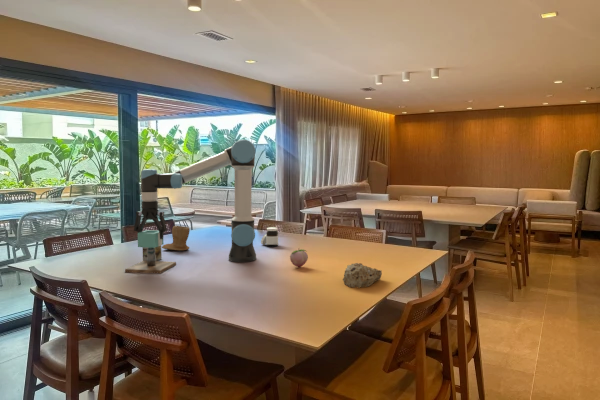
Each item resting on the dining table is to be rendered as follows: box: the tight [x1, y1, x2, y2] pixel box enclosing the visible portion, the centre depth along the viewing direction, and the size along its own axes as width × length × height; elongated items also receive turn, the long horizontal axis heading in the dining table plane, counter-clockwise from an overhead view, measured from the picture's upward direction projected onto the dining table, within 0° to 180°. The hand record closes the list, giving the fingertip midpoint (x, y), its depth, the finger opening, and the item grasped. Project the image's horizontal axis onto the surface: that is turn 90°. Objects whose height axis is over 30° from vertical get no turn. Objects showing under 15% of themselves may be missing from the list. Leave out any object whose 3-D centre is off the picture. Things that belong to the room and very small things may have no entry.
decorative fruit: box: [289, 248, 309, 268], centre depth 215 cm, size 9×8×10 cm
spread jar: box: [260, 226, 279, 248], centre depth 272 cm, size 12×11×12 cm
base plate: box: [124, 260, 177, 274], centre depth 212 cm, size 18×18×2 cm
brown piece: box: [161, 225, 190, 252], centre depth 258 cm, size 15×12×15 cm
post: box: [147, 247, 156, 266], centre depth 212 cm, size 4×4×11 cm
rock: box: [342, 262, 383, 289], centre depth 188 cm, size 21×14×10 cm
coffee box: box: [142, 229, 163, 261], centre depth 230 cm, size 9×6×16 cm
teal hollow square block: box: [137, 229, 164, 248], centre depth 211 cm, size 9×9×7 cm
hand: (150, 245), depth 212 cm, fingers closed on teal hollow square block, 9 cm apart
